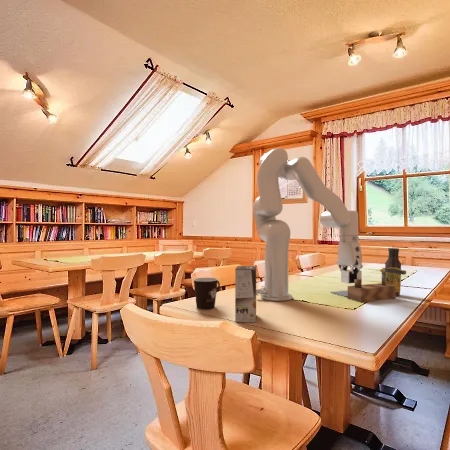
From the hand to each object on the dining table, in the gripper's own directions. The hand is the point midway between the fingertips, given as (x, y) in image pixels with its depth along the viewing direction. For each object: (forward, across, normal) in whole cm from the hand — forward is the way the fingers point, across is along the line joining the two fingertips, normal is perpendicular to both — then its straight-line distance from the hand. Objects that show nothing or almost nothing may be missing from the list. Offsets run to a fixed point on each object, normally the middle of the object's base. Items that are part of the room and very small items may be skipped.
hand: (349, 281), depth 140 cm
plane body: (+5, -10, -2) cm, 12 cm away
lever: (-5, -14, -9) cm, 18 cm away
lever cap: (0, 0, -1) cm, 1 cm away
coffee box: (+5, -18, +57) cm, 60 cm away
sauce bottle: (+6, -8, -16) cm, 18 cm away
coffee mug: (+5, 0, +63) cm, 63 cm away
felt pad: (+5, 0, 0) cm, 5 cm away
